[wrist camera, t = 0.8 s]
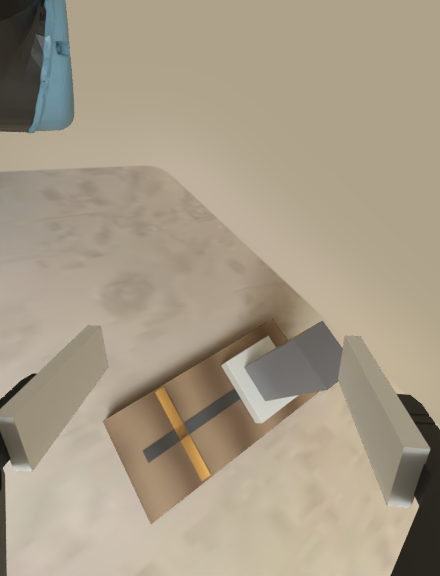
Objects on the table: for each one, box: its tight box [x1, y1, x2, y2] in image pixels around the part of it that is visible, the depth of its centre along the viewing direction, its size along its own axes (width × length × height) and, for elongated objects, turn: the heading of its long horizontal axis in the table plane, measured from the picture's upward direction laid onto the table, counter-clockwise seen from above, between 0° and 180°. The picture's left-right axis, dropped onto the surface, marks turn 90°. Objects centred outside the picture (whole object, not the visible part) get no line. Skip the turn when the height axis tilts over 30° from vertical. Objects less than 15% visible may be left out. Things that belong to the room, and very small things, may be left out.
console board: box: [103, 319, 319, 524], centre depth 33 cm, size 22×10×2 cm, turn 122°
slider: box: [221, 321, 343, 423], centre depth 28 cm, size 6×7×14 cm
